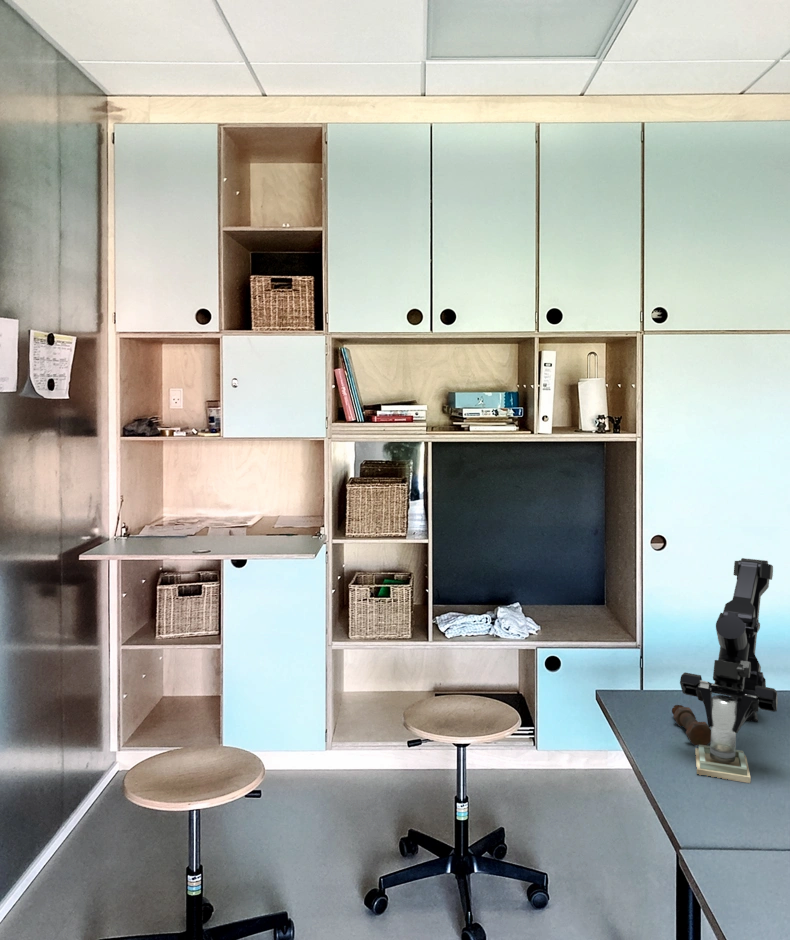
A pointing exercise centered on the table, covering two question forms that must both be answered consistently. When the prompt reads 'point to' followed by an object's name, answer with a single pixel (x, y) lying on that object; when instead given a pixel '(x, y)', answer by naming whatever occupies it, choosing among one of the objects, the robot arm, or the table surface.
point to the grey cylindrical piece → (723, 728)
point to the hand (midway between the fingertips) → (722, 729)
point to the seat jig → (722, 766)
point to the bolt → (692, 725)
